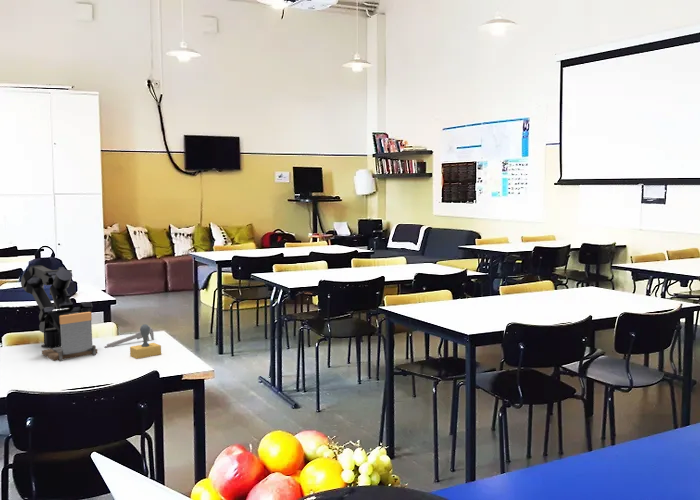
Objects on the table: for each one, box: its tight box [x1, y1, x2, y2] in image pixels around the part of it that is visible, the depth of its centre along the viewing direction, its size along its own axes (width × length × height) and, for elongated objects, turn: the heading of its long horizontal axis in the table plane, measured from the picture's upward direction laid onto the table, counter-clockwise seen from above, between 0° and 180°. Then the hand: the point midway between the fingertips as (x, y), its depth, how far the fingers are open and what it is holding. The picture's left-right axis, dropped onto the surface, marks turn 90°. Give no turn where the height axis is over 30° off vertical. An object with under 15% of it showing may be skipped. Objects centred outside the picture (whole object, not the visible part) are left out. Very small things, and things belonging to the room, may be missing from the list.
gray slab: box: [59, 311, 93, 356], centre depth 255 cm, size 2×11×15 cm, turn 133°
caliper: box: [103, 325, 155, 349], centre depth 277 cm, size 20×1×6 cm, turn 131°
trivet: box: [41, 344, 98, 362], centre depth 261 cm, size 15×16×4 cm
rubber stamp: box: [129, 324, 162, 360], centre depth 259 cm, size 10×6×12 cm, turn 131°
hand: (72, 329), depth 258 cm, fingers open, 9 cm apart
